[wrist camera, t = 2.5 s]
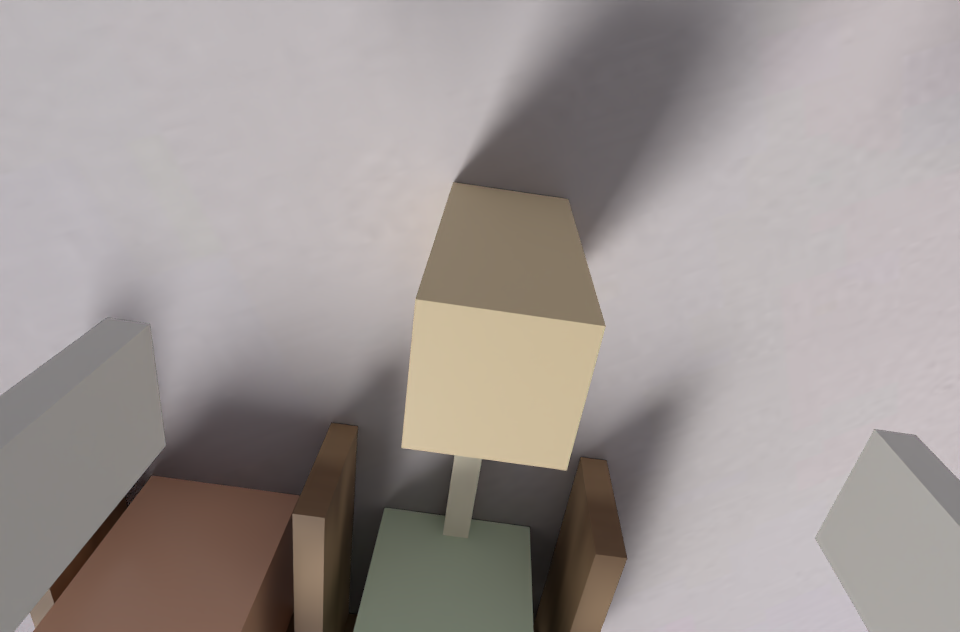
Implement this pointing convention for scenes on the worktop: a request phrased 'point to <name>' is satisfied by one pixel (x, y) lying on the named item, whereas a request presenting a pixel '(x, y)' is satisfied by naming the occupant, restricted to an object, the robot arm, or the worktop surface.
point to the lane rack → (328, 548)
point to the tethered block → (486, 405)
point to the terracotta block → (187, 564)
